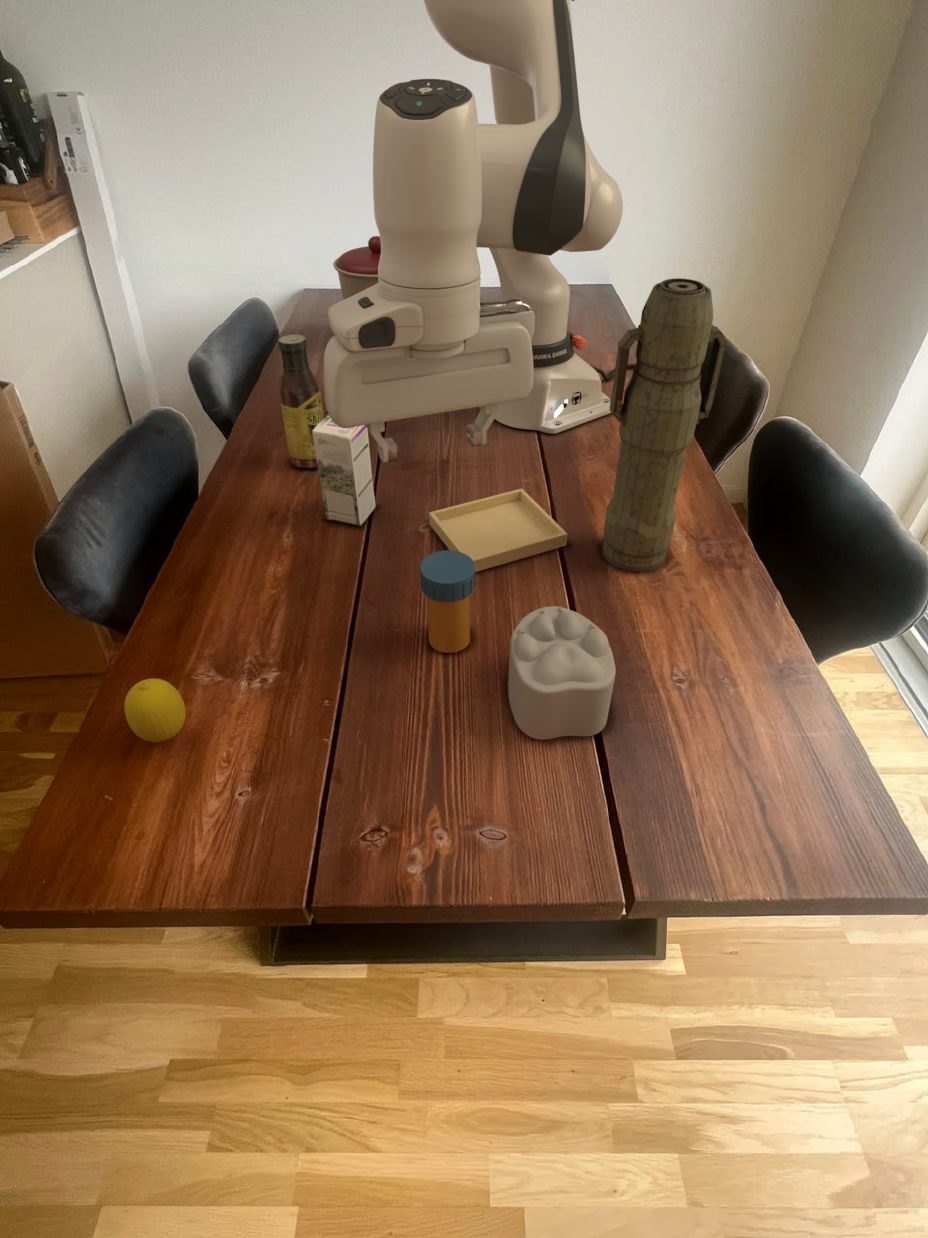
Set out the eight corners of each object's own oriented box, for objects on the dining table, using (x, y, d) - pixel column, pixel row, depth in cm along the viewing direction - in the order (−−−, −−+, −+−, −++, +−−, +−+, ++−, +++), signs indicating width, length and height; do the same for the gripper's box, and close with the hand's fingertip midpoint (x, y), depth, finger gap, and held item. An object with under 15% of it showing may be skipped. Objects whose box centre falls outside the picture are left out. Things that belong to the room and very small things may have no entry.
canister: (442, 337, 161) (439, 232, 147) (393, 365, 149) (385, 254, 135) (377, 322, 168) (368, 220, 154) (325, 348, 157) (311, 240, 143)
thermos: (582, 538, 103) (615, 275, 80) (662, 530, 105) (716, 269, 82) (601, 576, 97) (643, 302, 74) (686, 567, 98) (753, 295, 75)
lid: (461, 563, 85) (461, 544, 84) (484, 593, 81) (484, 574, 79) (412, 577, 83) (411, 558, 82) (433, 608, 79) (433, 589, 78)
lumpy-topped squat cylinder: (517, 741, 76) (520, 683, 70) (500, 654, 86) (503, 597, 80) (615, 734, 77) (627, 676, 71) (588, 648, 86) (596, 591, 81)
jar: (459, 620, 90) (458, 552, 83) (477, 645, 87) (477, 576, 80) (422, 632, 89) (418, 563, 82) (438, 658, 85) (435, 588, 78)
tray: (521, 499, 111) (521, 488, 110) (566, 545, 102) (567, 533, 101) (429, 523, 106) (428, 512, 105) (468, 574, 97) (468, 562, 96)
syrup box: (377, 506, 110) (368, 416, 100) (360, 528, 105) (349, 436, 96) (342, 500, 111) (330, 410, 101) (324, 521, 107) (310, 429, 97)
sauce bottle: (321, 472, 117) (303, 349, 104) (285, 468, 118) (261, 346, 105) (335, 452, 122) (318, 332, 109) (299, 449, 123) (279, 329, 110)
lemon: (145, 718, 79) (122, 665, 73) (198, 714, 79) (178, 662, 74) (132, 759, 74) (106, 706, 69) (188, 755, 75) (166, 702, 70)
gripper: (521, 286, 70) (513, 422, 79) (310, 310, 64) (327, 454, 73) (551, 306, 66) (539, 447, 75) (327, 334, 60) (343, 483, 69)
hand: (433, 451), depth 74 cm, fingers open, 8 cm apart
